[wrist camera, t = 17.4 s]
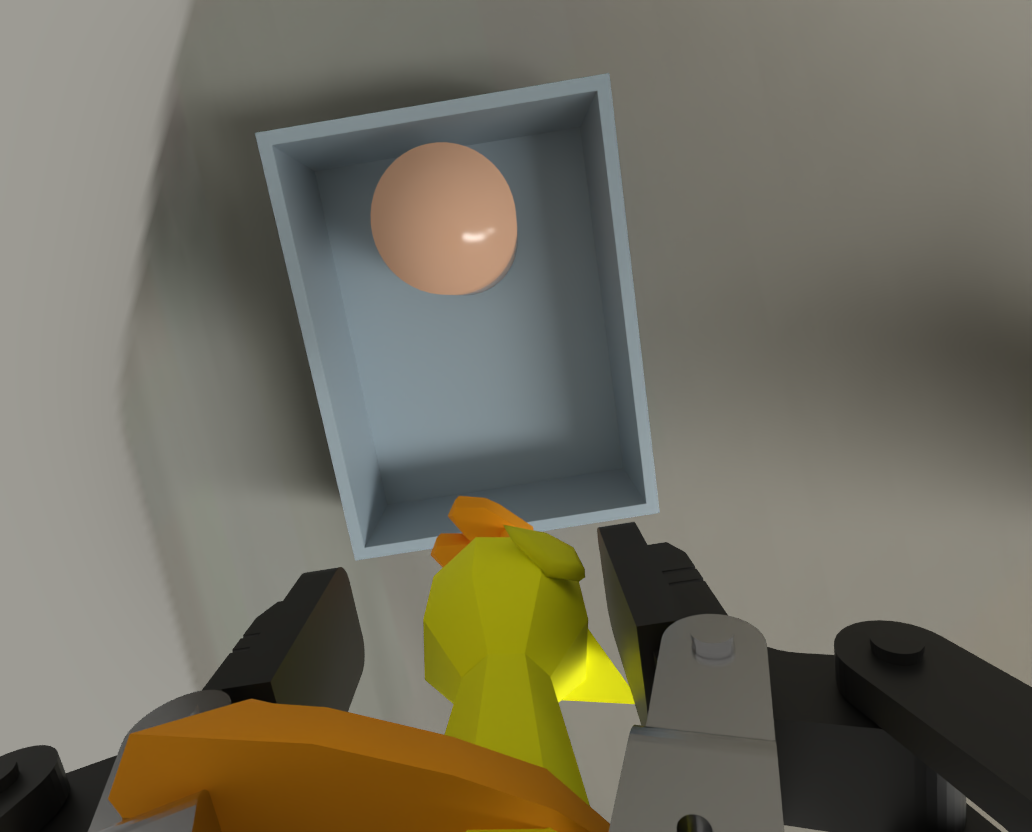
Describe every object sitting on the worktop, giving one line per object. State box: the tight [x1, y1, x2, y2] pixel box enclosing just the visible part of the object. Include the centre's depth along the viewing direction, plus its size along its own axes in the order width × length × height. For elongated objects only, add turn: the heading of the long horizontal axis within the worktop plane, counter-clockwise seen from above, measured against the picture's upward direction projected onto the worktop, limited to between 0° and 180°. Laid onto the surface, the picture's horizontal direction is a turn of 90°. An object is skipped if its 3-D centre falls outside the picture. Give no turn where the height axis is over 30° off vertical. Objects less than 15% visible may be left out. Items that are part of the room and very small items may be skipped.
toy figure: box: [108, 496, 635, 832], centre depth 9 cm, size 7×4×12 cm, turn 67°
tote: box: [255, 73, 660, 560], centre depth 26 cm, size 13×17×6 cm
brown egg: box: [370, 142, 518, 296], centre depth 24 cm, size 5×5×7 cm
